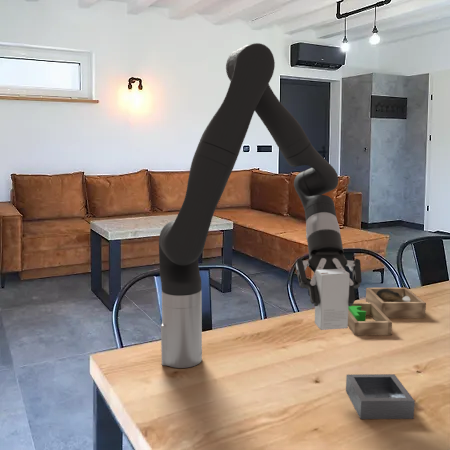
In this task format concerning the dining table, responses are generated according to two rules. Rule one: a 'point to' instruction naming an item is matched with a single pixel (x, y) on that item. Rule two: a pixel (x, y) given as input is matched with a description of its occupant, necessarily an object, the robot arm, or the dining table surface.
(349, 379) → the keeper tray
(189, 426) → the dining table surface
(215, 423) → the dining table surface
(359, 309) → the green notched block
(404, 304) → the figurine corral
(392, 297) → the eagle figurine
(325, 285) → the skincare box
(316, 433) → the dining table surface
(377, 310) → the tray
